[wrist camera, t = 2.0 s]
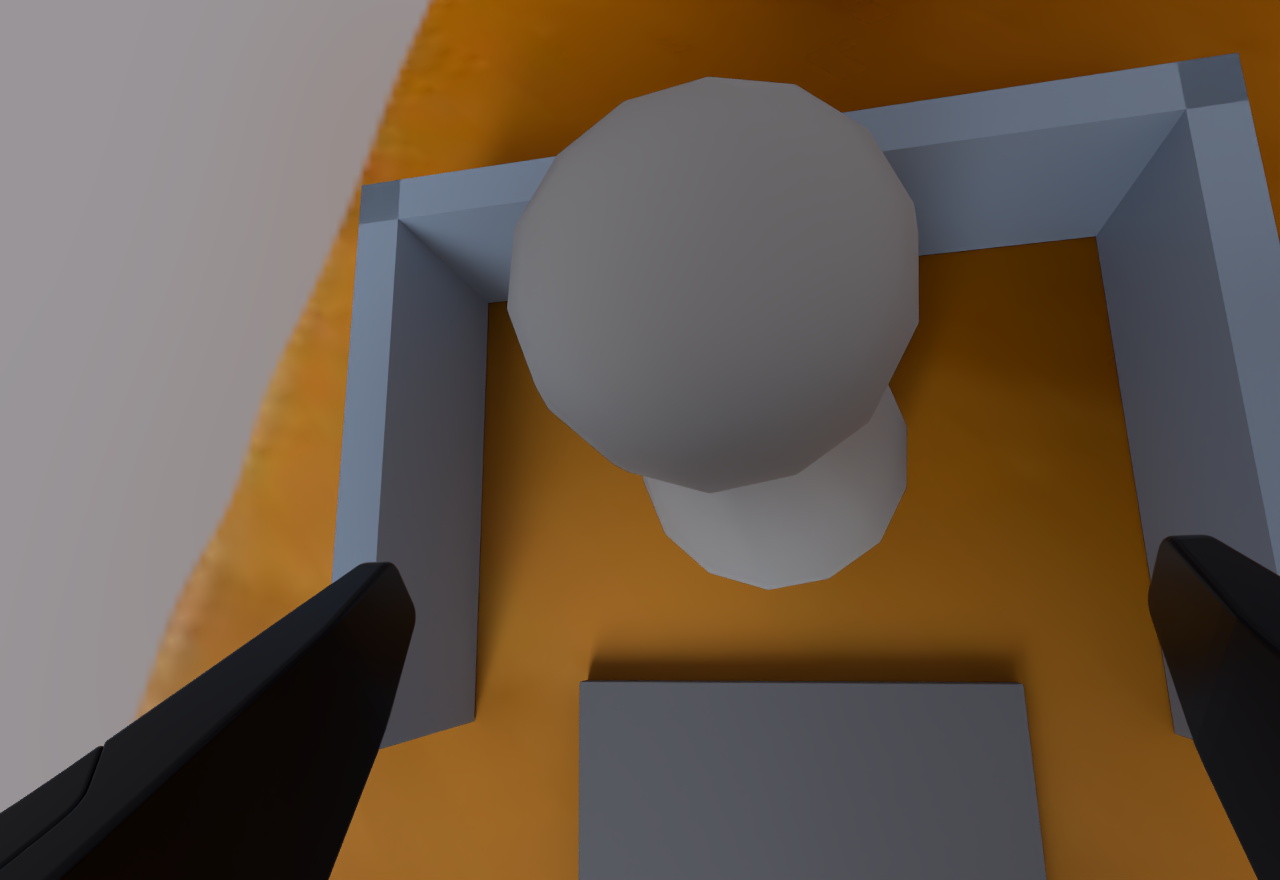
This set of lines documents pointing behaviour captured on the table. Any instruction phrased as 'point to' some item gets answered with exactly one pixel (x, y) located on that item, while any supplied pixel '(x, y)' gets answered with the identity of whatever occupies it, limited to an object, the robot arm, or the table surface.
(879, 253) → the salt shaker
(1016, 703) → the coaster
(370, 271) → the cradle
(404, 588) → the robot arm
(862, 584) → the table surface
